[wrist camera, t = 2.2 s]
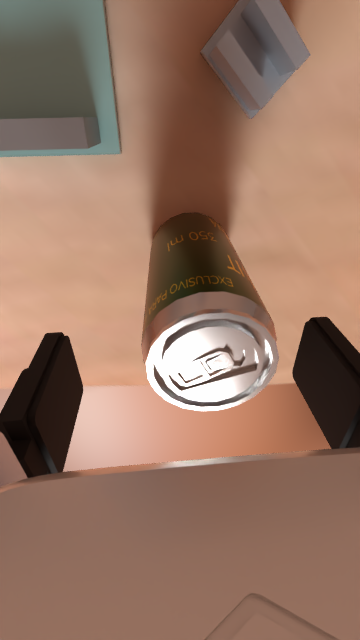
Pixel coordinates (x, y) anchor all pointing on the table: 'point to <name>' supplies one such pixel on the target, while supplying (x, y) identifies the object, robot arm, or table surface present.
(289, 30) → the clip
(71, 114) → the end holder
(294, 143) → the table surface
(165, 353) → the beer can
